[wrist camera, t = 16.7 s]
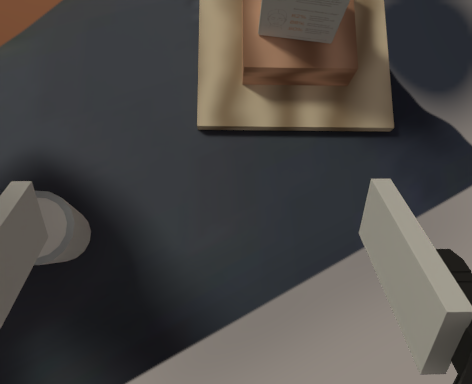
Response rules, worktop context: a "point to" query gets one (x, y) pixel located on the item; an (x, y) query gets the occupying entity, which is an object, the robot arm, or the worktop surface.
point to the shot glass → (61, 229)
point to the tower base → (289, 98)
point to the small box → (302, 19)
